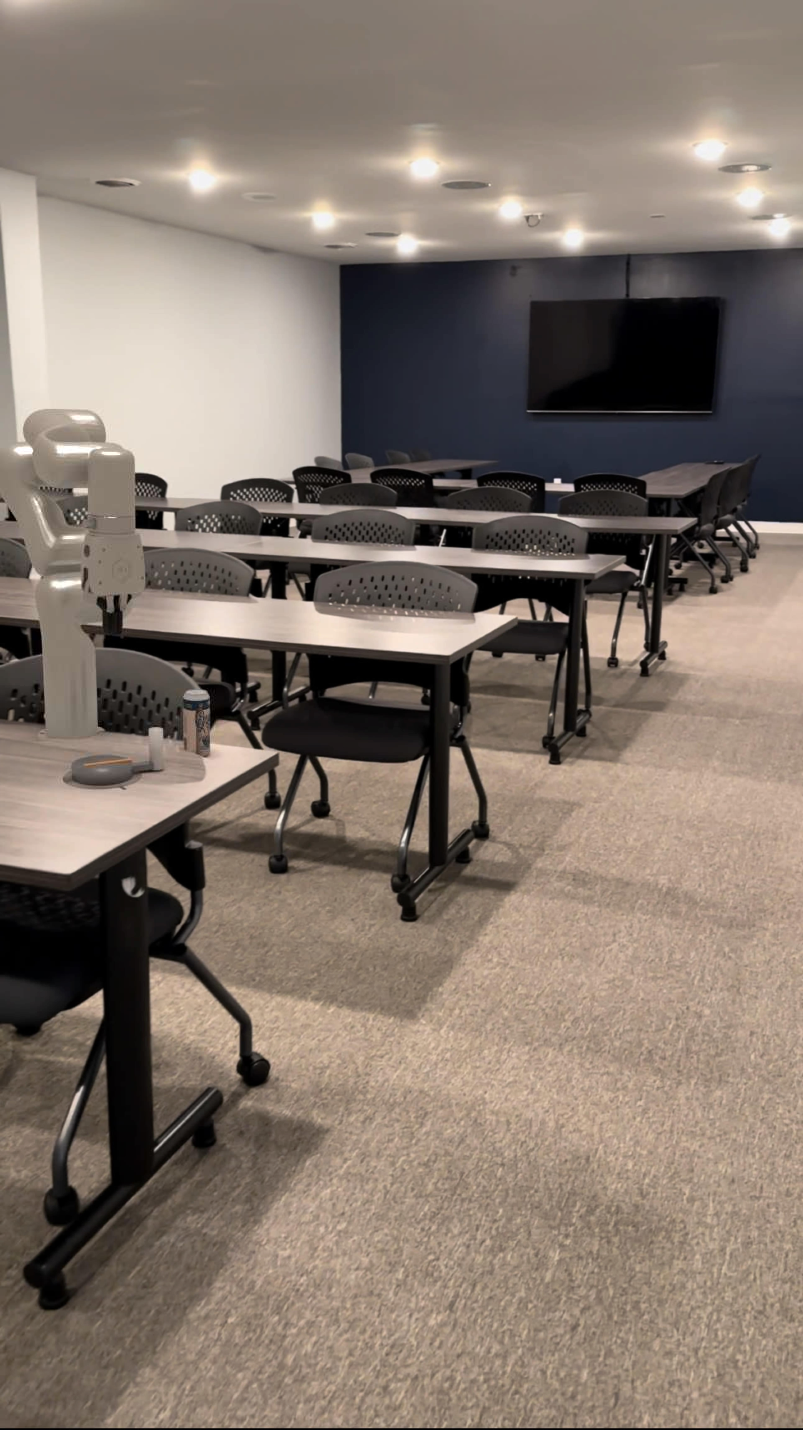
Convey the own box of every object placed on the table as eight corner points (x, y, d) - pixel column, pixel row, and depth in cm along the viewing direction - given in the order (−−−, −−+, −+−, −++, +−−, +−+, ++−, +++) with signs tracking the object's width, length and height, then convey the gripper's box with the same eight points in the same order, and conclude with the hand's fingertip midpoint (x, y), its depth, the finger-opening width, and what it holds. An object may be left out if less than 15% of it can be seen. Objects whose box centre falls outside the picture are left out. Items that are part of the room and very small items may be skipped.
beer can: (204, 760, 221) (204, 696, 218) (179, 757, 222) (179, 693, 219) (213, 752, 226) (213, 689, 223) (189, 750, 227) (188, 687, 224)
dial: (81, 787, 199) (80, 746, 197) (64, 770, 207) (63, 731, 205) (173, 775, 207) (172, 735, 205) (153, 759, 215) (152, 721, 213)
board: (37, 776, 209) (37, 769, 208) (127, 760, 219) (127, 753, 219) (91, 808, 194) (91, 800, 194) (185, 789, 205) (184, 781, 204)
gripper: (84, 531, 192) (86, 644, 198) (162, 525, 203) (162, 632, 208) (59, 524, 197) (61, 634, 203) (136, 518, 208) (136, 623, 213)
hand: (112, 633), depth 206 cm, fingers closed
